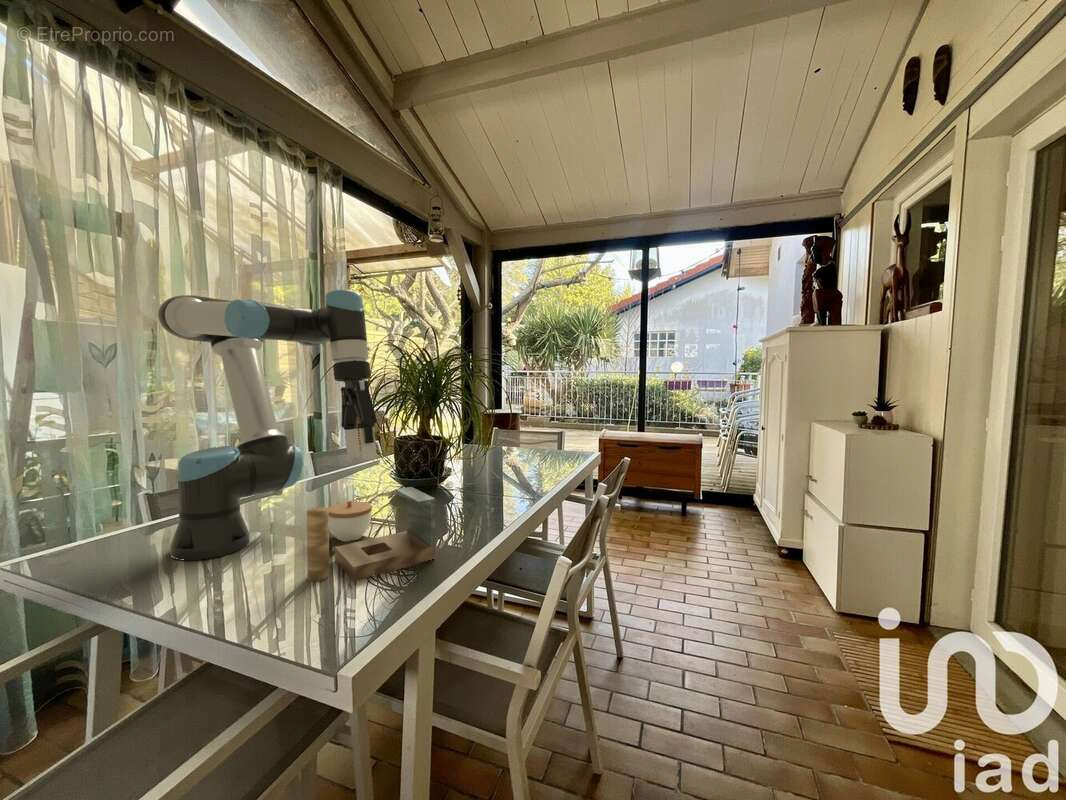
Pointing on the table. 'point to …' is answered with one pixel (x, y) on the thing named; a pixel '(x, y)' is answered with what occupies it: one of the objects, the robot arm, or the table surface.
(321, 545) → the oak peg
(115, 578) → the table surface
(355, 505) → the lidded jar
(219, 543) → the robot arm
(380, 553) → the socket block
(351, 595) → the table surface
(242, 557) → the table surface
